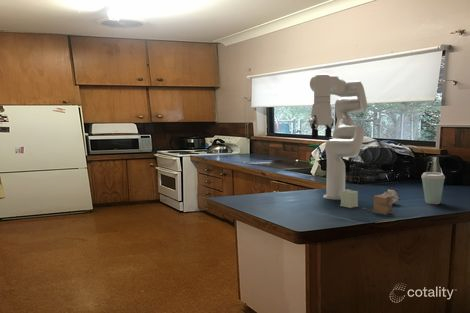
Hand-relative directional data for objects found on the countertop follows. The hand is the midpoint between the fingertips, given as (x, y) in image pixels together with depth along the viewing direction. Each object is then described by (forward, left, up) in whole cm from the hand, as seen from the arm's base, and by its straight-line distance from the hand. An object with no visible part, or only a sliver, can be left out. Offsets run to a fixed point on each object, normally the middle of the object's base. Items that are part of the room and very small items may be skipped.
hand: (321, 137), depth 187 cm
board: (-10, +18, -33) cm, 39 cm away
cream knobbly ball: (-29, +19, -34) cm, 48 cm away
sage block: (-10, +9, -33) cm, 35 cm away
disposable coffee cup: (-49, +30, -34) cm, 67 cm away
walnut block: (-10, +26, -32) cm, 43 cm away
